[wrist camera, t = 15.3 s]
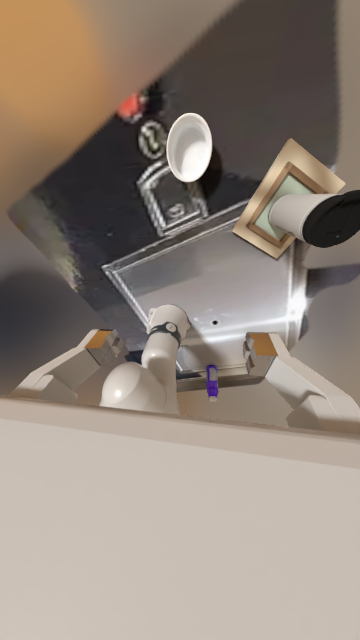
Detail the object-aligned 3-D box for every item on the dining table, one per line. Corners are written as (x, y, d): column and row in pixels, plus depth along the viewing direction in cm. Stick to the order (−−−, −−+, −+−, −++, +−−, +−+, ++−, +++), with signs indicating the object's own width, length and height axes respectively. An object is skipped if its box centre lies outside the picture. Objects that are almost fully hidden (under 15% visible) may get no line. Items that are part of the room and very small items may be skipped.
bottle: (218, 371, 84) (220, 403, 71) (208, 371, 86) (208, 403, 73) (215, 364, 80) (217, 397, 67) (205, 364, 82) (205, 397, 69)
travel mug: (302, 188, 31) (391, 183, 16) (293, 224, 35) (358, 246, 20) (270, 196, 33) (324, 197, 18) (265, 229, 37) (306, 253, 22)
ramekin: (196, 192, 35) (195, 192, 32) (164, 167, 33) (159, 164, 30) (220, 141, 30) (222, 135, 27) (183, 108, 28) (180, 97, 25)
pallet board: (274, 257, 42) (278, 259, 40) (231, 230, 39) (233, 232, 37) (340, 184, 31) (349, 183, 29) (287, 140, 29) (293, 136, 27)
